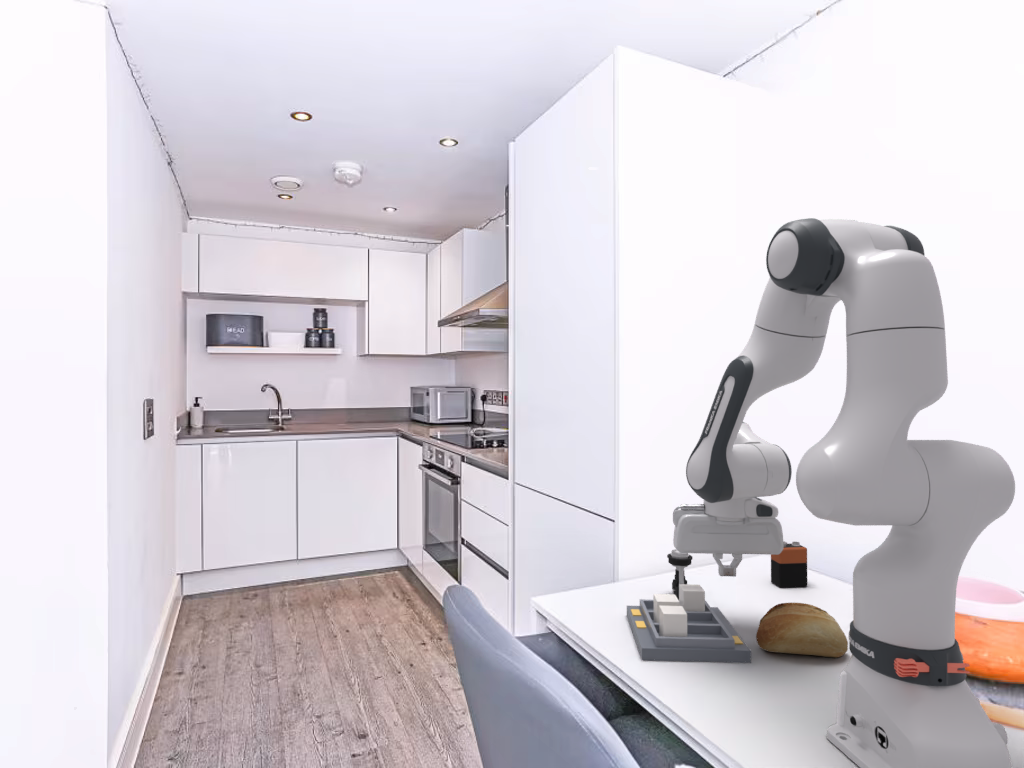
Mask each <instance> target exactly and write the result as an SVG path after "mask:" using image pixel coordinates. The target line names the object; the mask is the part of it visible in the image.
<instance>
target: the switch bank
mask: <svg viewBox="0 0 1024 768" xmlns="http://www.w3.org/2000/svg"><path fill="white" fill-rule="evenodd" d="M685 612H686V613H687V637H667V636H660V634H659V623H654V603H653V599H642V598H641V599H639V605H626V617H627V621H628V623H629V626H630V629H631V633H632V635H633V638H634V642H635V644H636V646H637V647H636V648H637V650H638V653H639V656H640V658H641V661H656V662H657V661H662V662H663V661H664V662H665V661H666V662H670V661H671V662H701V663H702V662H703V663H704V662H708V663H709V662H710V663H744V664H745V663H748V664H749V663H750V664H751V663H752V650H751V648H750V647H749V646H748V645H747V643H746V642H745V641H744V640H743V638H742V637H741V636H740V634H739V633H738V632H737V631H736V629H735V627H734V626H733V625H732V624H731V622H730V621H729V620H728V619H727V617H726V616H725V615H724V613H723V612H722V611H721V609H719V607H718V606H710V604H709V603H708V601H707V600H705V612H703V611H685Z"/></svg>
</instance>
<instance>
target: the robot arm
mask: <svg viewBox="0 0 1024 768" xmlns="http://www.w3.org/2000/svg"><path fill="white" fill-rule="evenodd" d="M924 249H925V248H924V245H923V242H922V241H921V240H920V239H919V237H918V236H916V235H915V234H914V233H912V232H911V231H909V230H907V229H904V228H902V227H898V226H894V225H880V224H877V223H871V222H870V223H869V222H864V221H863V222H862V221H858V220H855V219H854V220H853V219H839V218H838V219H833V218H832V219H831V218H829V219H817V218H814V217H813V218H810V217H809V218H801V219H797V220H791V221H789V222H786V223H784V224H783V225H782V226H780V227H779V228H778V229H777V231H776V232H775V233H774V234H773V237H771V240H770V242H769V245H768V246H767V250H766V257H765V258H766V259H765V261H766V262H765V264H766V269H767V272H768V276H769V279H768V281H767V283H766V286H765V288H764V291H763V293H762V295H761V300H760V302H759V304H758V309H757V313H756V317H755V321H754V326H753V330H752V332H751V335H750V337H749V339H748V341H747V343H746V345H745V347H744V348H743V349H742V351H741V352H740V354H739V355H738V356H737V357H736V358H734V359H733V360H732V361H731V362H730V363H729V364H728V365H727V367H726V369H725V370H724V373H723V375H722V377H721V381H720V382H719V385H718V388H717V391H716V393H715V396H714V398H713V401H712V403H711V407H710V409H709V411H708V414H707V418H706V420H705V424H704V427H703V429H702V431H701V435H700V436H699V439H698V440H697V443H696V445H695V447H694V448H693V450H692V452H691V453H690V454H689V455H690V456H689V458H688V460H687V462H686V466H685V476H686V480H687V483H688V485H689V487H690V488H691V490H692V491H693V492H694V493H695V495H697V496H698V497H699V498H701V499H703V504H702V503H699V504H698V503H697V504H696V503H694V504H686V503H683V504H680V505H679V506H677V507H675V509H674V510H673V511H672V512H673V513H672V522H673V524H674V531H673V540H672V541H673V544H672V545H673V547H674V548H675V550H678V551H679V552H680V553H688V554H707V555H708V554H709V555H710V554H711V555H712V557H713V559H714V561H715V562H716V564H717V566H718V569H717V570H718V576H720V577H733V578H734V577H736V576H737V568H738V566H739V565H740V564H741V563H742V561H743V555H771V554H772V555H778V554H780V553H781V552H782V550H783V546H784V544H783V541H784V534H783V528H782V523H781V522H780V520H779V519H778V518H777V517H778V516H779V508H778V507H777V506H776V505H775V504H773V503H771V502H770V501H767V500H765V499H762V497H764V498H765V497H772V496H777V495H781V494H782V493H784V492H785V491H786V490H787V488H788V487H789V485H790V484H791V480H792V471H793V470H792V463H791V460H790V458H789V455H788V454H787V453H786V451H785V450H784V449H783V448H781V446H779V445H777V444H773V443H770V442H768V441H766V440H764V439H763V438H761V437H759V436H758V435H757V434H755V433H754V431H753V430H752V429H751V427H750V425H749V423H747V422H744V419H745V417H746V414H747V411H748V410H749V409H750V407H751V406H752V405H753V404H754V402H755V401H757V400H758V399H760V398H761V397H762V396H765V395H766V394H768V393H770V392H771V391H774V390H777V389H779V388H781V387H785V386H787V385H790V384H792V383H795V382H797V381H799V380H800V379H802V378H804V377H806V376H807V375H809V373H811V372H812V371H813V370H814V368H815V367H816V365H817V363H818V362H819V360H820V358H821V355H822V353H823V349H824V346H825V341H826V337H827V333H828V330H829V329H828V328H829V324H830V321H831V320H830V318H831V315H832V312H833V309H834V307H835V306H836V305H837V304H838V303H839V302H840V301H841V302H842V303H843V305H844V309H845V336H846V338H845V340H846V382H845V384H846V385H845V394H844V397H843V402H842V406H841V408H840V410H839V411H840V412H839V413H838V415H837V418H836V420H834V423H833V424H832V425H831V428H830V429H829V430H828V431H827V433H826V434H825V435H824V436H823V437H822V438H821V439H820V440H819V441H818V442H816V443H815V444H814V445H813V446H811V447H809V448H808V449H807V450H806V452H805V453H804V454H803V455H802V456H801V458H800V460H799V463H798V465H797V469H796V472H795V485H796V489H797V493H798V495H799V498H800V500H801V501H802V502H801V503H803V505H804V506H805V508H806V509H807V510H808V511H809V512H810V513H811V514H812V515H813V516H814V517H816V518H818V519H821V520H825V521H830V522H835V523H838V524H839V523H840V524H845V525H850V526H856V527H857V526H891V529H890V531H889V533H888V535H887V537H885V539H884V540H883V542H882V543H881V544H880V545H878V547H877V548H875V549H873V550H870V551H869V552H867V553H866V554H864V555H863V556H861V558H860V559H858V561H857V563H856V564H855V566H854V569H853V572H852V604H853V605H852V609H853V610H852V611H853V612H852V615H853V617H852V618H853V620H852V621H850V623H849V630H848V641H849V642H848V646H849V647H848V649H849V652H850V653H851V656H850V659H849V661H848V663H847V665H846V666H845V667H844V668H843V670H842V671H841V673H840V675H839V683H838V684H839V685H838V696H837V707H836V708H837V709H836V720H835V721H836V723H833V724H832V725H830V726H828V728H827V729H826V738H827V739H828V741H829V742H830V743H832V745H834V746H835V747H836V748H838V750H840V751H841V752H842V753H843V754H844V755H845V756H846V757H847V758H849V759H850V760H851V761H852V762H854V764H856V765H857V766H858V767H859V768H1012V761H1011V755H1010V751H1009V748H1008V746H1007V745H1008V742H1009V738H1008V734H1007V731H1006V729H1005V726H1004V725H1002V724H1001V723H999V722H998V723H997V722H992V721H991V719H990V717H989V716H988V715H987V714H988V713H987V712H986V711H985V710H984V708H983V705H981V702H980V700H979V699H978V697H976V695H975V694H974V693H973V691H972V689H971V688H970V686H969V684H968V682H967V681H966V679H967V674H970V673H971V672H970V671H969V670H966V668H967V667H970V663H965V662H964V656H963V653H962V651H961V648H960V646H959V645H960V644H959V642H958V640H957V639H956V633H955V632H956V600H957V599H956V598H957V586H958V581H959V575H960V573H961V570H962V567H963V564H964V561H965V559H966V558H967V556H968V554H969V551H970V550H971V548H972V547H973V545H974V543H975V542H976V540H977V539H978V537H979V536H980V535H981V534H982V533H983V531H984V530H985V529H986V528H987V527H989V525H992V523H993V522H995V521H997V519H998V520H999V518H1001V517H1002V516H1004V515H1005V514H1006V513H1007V511H1008V510H1009V509H1010V507H1011V506H1012V504H1013V502H1014V499H1015V498H1014V497H1015V494H1016V481H1015V477H1014V474H1013V471H1012V469H1011V467H1010V465H1009V463H1008V462H1007V461H1006V459H1005V458H1004V457H1003V456H1002V455H1001V454H1000V453H999V452H998V451H996V450H995V449H993V448H990V447H988V446H984V445H979V444H976V443H970V442H965V441H964V442H963V441H958V440H952V439H908V434H909V431H910V430H909V429H910V427H911V424H912V422H913V421H914V418H915V417H916V416H917V414H918V413H919V412H920V411H922V410H924V409H926V408H928V407H931V406H932V405H934V404H935V403H936V402H938V401H939V400H940V399H941V398H942V397H943V396H944V394H946V391H947V388H948V384H949V380H948V379H949V377H948V359H947V358H948V357H947V344H946V343H947V341H946V325H945V313H944V307H943V306H944V305H943V302H942V296H941V290H940V287H939V283H938V279H937V275H936V272H935V269H934V266H933V264H932V262H931V261H930V259H928V257H926V255H925V250H924ZM724 554H725V555H731V556H732V557H733V558H732V561H731V563H730V564H723V563H722V561H721V560H723V558H724Z"/></svg>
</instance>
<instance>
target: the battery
mask: <svg viewBox="0 0 1024 768" xmlns="http://www.w3.org/2000/svg"><path fill="white" fill-rule="evenodd" d="M783 544H784V546H783V550H782V552H781V553H780V554H778V555H772V554H770V582H771V584H774V585H776V586H777V587H778V588H781V589H786V588H787V589H793V588H807V587H808V548H807V547H805V546H803V545H801V544H800V542H799V541H792V543H788V542H787V541H784V540H783Z"/></svg>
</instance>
